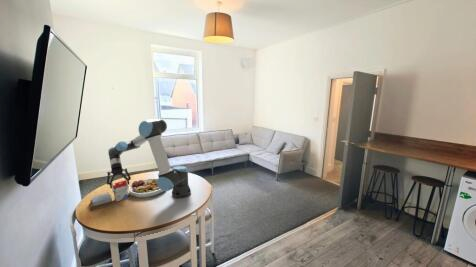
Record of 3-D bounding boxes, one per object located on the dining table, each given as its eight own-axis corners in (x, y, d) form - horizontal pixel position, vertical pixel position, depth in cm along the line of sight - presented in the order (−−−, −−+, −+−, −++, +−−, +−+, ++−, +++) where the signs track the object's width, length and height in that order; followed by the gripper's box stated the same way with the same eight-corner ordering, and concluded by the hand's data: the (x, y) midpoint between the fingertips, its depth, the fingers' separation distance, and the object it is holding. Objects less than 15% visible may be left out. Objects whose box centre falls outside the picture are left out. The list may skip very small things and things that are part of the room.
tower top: (111, 201, 152) (111, 197, 151) (93, 206, 145) (93, 202, 144) (108, 195, 160) (108, 192, 160) (91, 200, 153) (91, 196, 152)
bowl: (173, 184, 188) (172, 176, 186) (157, 200, 158) (156, 190, 157) (142, 182, 191) (141, 174, 189) (121, 198, 161) (119, 189, 160)
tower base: (112, 205, 152) (112, 201, 151) (91, 211, 144) (90, 207, 143) (111, 198, 162) (110, 194, 161) (91, 203, 154) (90, 199, 154)
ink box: (125, 195, 165) (123, 178, 163) (128, 197, 162) (126, 180, 160) (114, 199, 159) (112, 181, 156) (116, 201, 156) (114, 183, 153)
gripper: (130, 164, 175) (136, 188, 165) (100, 169, 162) (104, 195, 153) (131, 160, 170) (136, 184, 160) (99, 165, 157) (103, 192, 147)
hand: (120, 190), depth 156 cm, fingers closed on ink box, 9 cm apart
